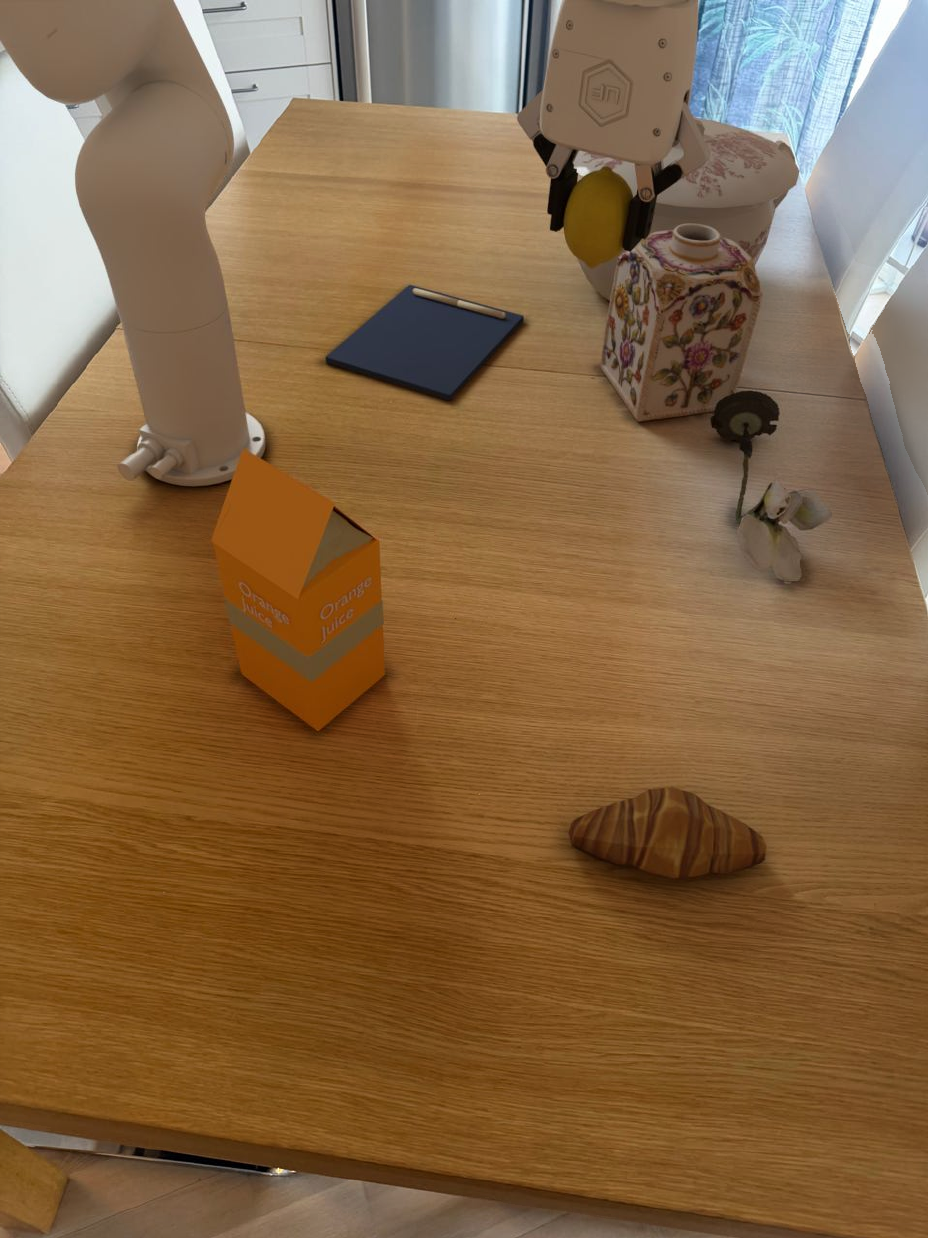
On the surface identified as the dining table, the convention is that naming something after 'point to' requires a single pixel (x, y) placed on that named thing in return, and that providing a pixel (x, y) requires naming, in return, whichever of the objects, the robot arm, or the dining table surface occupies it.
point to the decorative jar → (680, 322)
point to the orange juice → (299, 592)
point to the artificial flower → (767, 490)
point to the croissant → (668, 835)
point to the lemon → (597, 216)
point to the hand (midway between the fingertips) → (596, 232)
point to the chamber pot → (711, 191)
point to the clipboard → (426, 341)
